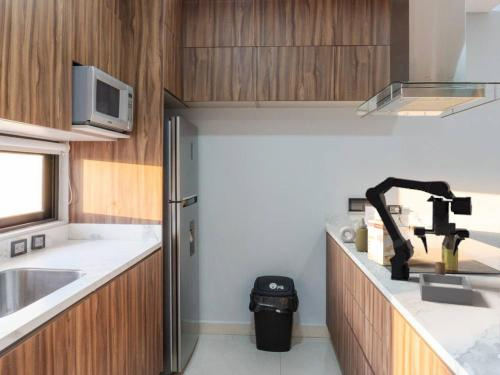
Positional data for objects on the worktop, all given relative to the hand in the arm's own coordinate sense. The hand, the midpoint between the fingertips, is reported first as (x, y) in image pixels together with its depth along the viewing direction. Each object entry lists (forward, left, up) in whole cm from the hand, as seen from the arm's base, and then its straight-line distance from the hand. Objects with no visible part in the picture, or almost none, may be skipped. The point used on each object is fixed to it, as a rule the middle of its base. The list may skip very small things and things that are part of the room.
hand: (440, 254), depth 147 cm
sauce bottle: (+6, +20, -12) cm, 24 cm away
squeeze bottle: (-33, +54, -12) cm, 65 cm away
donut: (-44, +77, -12) cm, 90 cm away
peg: (0, 0, -11) cm, 11 cm away
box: (0, -14, -11) cm, 18 cm away
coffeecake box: (-23, +31, -12) cm, 40 cm away
